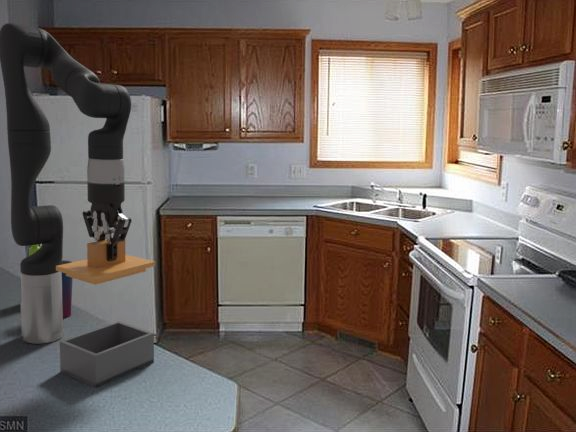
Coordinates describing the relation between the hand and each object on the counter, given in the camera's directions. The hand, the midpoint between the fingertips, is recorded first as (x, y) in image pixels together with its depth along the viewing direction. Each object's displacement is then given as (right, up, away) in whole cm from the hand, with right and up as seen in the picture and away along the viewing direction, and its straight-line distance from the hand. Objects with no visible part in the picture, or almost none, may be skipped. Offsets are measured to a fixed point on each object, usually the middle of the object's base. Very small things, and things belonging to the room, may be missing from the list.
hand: (106, 258), depth 122 cm
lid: (0, -3, +1) cm, 3 cm away
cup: (-24, -19, +34) cm, 46 cm away
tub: (-1, -25, +4) cm, 25 cm away
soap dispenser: (-34, -17, +44) cm, 58 cm away
